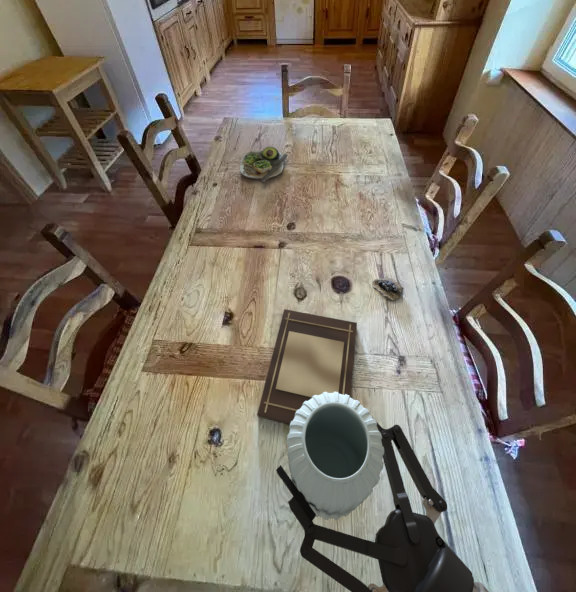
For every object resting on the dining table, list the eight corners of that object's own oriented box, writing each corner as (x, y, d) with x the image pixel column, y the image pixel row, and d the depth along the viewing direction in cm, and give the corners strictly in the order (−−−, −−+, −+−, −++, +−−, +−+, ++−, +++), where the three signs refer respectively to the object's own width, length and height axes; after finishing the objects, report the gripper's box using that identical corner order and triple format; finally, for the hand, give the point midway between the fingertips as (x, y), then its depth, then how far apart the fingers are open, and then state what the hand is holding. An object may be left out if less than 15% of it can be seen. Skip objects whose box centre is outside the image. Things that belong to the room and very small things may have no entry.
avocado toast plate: (285, 185, 122) (285, 175, 119) (236, 185, 123) (234, 175, 120) (288, 153, 136) (287, 143, 132) (243, 153, 137) (242, 144, 133)
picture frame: (346, 439, 66) (346, 437, 65) (257, 417, 70) (256, 414, 68) (356, 325, 83) (357, 322, 82) (284, 311, 86) (284, 308, 85)
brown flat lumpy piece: (398, 305, 86) (399, 301, 85) (367, 292, 89) (368, 288, 88) (405, 285, 91) (407, 281, 89) (376, 273, 94) (377, 269, 92)
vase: (300, 531, 50) (298, 519, 34) (284, 440, 58) (277, 396, 42) (374, 509, 51) (406, 488, 35) (349, 423, 59) (365, 375, 44)
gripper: (381, 732, 33) (247, 511, 45) (494, 513, 44) (362, 381, 56) (396, 765, 28) (239, 505, 40) (520, 507, 39) (368, 363, 51)
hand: (311, 432), depth 48 cm, fingers closed on vase, 11 cm apart
